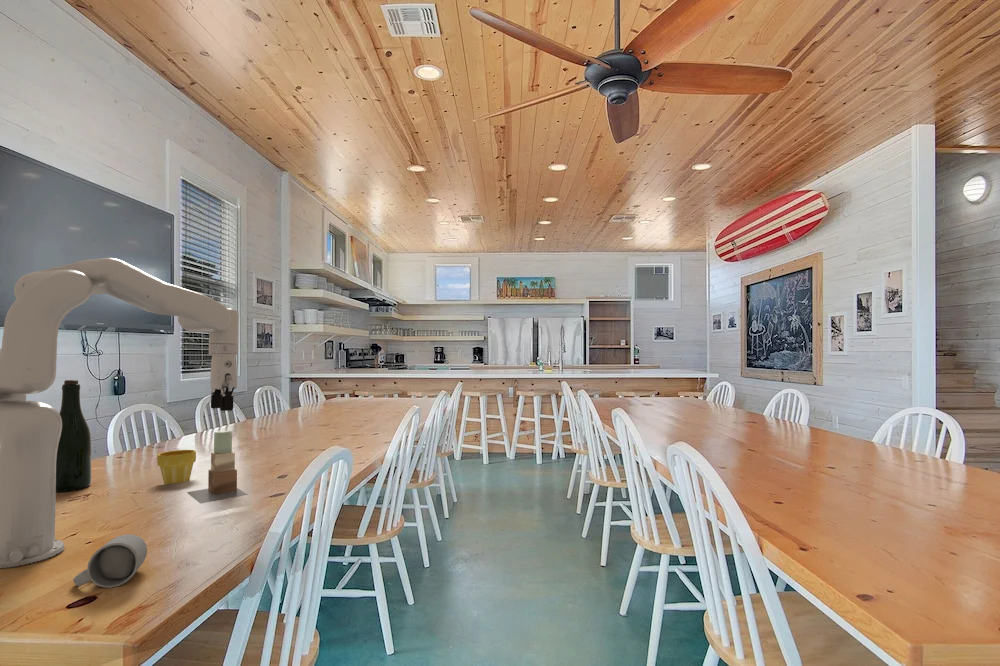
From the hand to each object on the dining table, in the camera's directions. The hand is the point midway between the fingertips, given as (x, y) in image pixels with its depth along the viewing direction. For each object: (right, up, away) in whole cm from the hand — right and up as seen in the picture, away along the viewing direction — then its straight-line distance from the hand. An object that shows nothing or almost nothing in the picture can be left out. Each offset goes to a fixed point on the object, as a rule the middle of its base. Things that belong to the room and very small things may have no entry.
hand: (221, 409), depth 153 cm
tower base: (0, -24, 0) cm, 24 cm away
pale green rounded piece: (0, -13, 0) cm, 13 cm away
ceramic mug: (+10, -23, -57) cm, 62 cm away
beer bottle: (-50, -25, +7) cm, 57 cm away
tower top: (0, -18, 0) cm, 18 cm away
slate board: (0, -25, -3) cm, 25 cm away
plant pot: (-20, -25, +12) cm, 35 cm away
